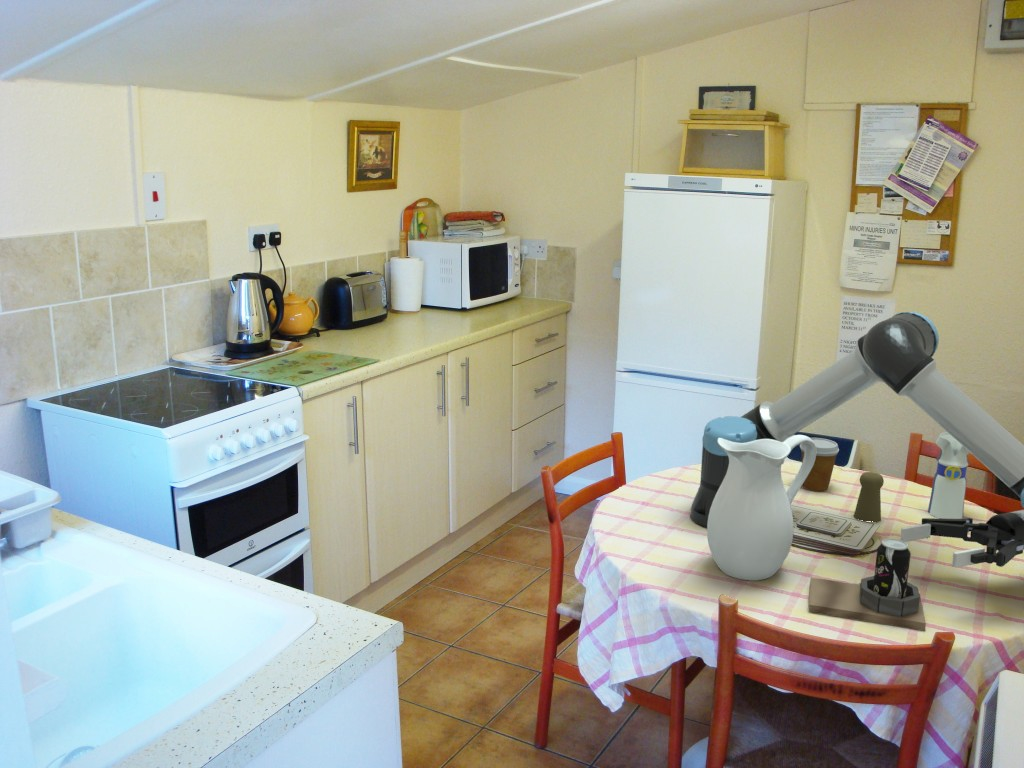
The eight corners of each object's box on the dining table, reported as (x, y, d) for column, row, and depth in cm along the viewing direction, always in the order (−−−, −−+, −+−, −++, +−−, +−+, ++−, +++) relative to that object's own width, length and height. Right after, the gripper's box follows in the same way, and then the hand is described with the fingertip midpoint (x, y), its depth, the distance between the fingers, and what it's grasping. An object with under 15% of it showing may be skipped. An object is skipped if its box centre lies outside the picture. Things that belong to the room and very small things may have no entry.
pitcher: (737, 594, 177) (749, 457, 170) (688, 559, 192) (696, 432, 185) (833, 573, 187) (848, 443, 180) (779, 541, 202) (790, 420, 195)
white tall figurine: (968, 523, 213) (983, 420, 207) (928, 517, 216) (941, 416, 210) (964, 510, 221) (978, 411, 215) (925, 505, 224) (939, 407, 217)
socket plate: (808, 611, 171) (810, 589, 170) (810, 584, 182) (812, 563, 181) (924, 630, 165) (927, 607, 163) (919, 600, 176) (921, 579, 174)
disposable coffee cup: (834, 483, 238) (839, 439, 235) (834, 496, 229) (839, 450, 226) (796, 479, 241) (800, 435, 238) (795, 491, 232) (799, 446, 229)
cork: (876, 513, 218) (882, 469, 216) (884, 523, 213) (889, 478, 210) (850, 512, 219) (855, 468, 216) (857, 522, 213) (862, 477, 210)
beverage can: (901, 612, 168) (908, 552, 165) (868, 604, 171) (875, 544, 168) (906, 600, 172) (914, 541, 169) (875, 592, 175) (881, 534, 172)
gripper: (1069, 572, 169) (976, 591, 163) (965, 528, 193) (881, 543, 186) (1072, 534, 168) (979, 551, 162) (968, 494, 191) (883, 508, 185)
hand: (927, 547), depth 174 cm, fingers open, 13 cm apart
